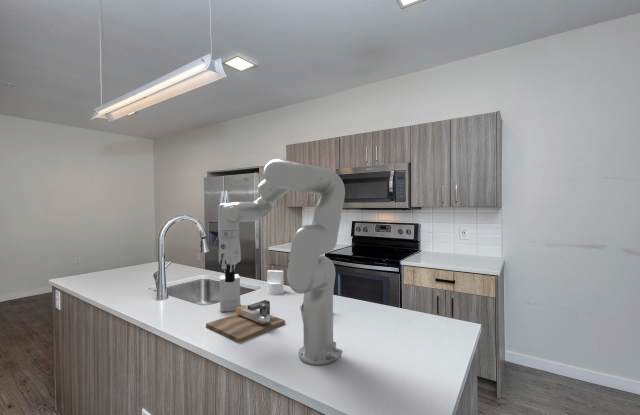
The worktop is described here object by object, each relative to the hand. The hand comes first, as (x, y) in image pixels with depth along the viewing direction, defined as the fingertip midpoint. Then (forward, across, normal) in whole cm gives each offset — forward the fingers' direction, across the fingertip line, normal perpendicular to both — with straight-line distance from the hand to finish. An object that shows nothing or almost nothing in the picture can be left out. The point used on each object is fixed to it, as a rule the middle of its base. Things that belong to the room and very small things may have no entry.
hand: (229, 281), depth 118 cm
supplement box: (+18, +23, +12) cm, 31 cm away
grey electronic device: (+19, +18, -30) cm, 40 cm away
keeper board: (+18, +4, -4) cm, 19 cm away
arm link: (+17, +7, -6) cm, 19 cm away
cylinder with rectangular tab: (+19, +50, -2) cm, 53 cm away
